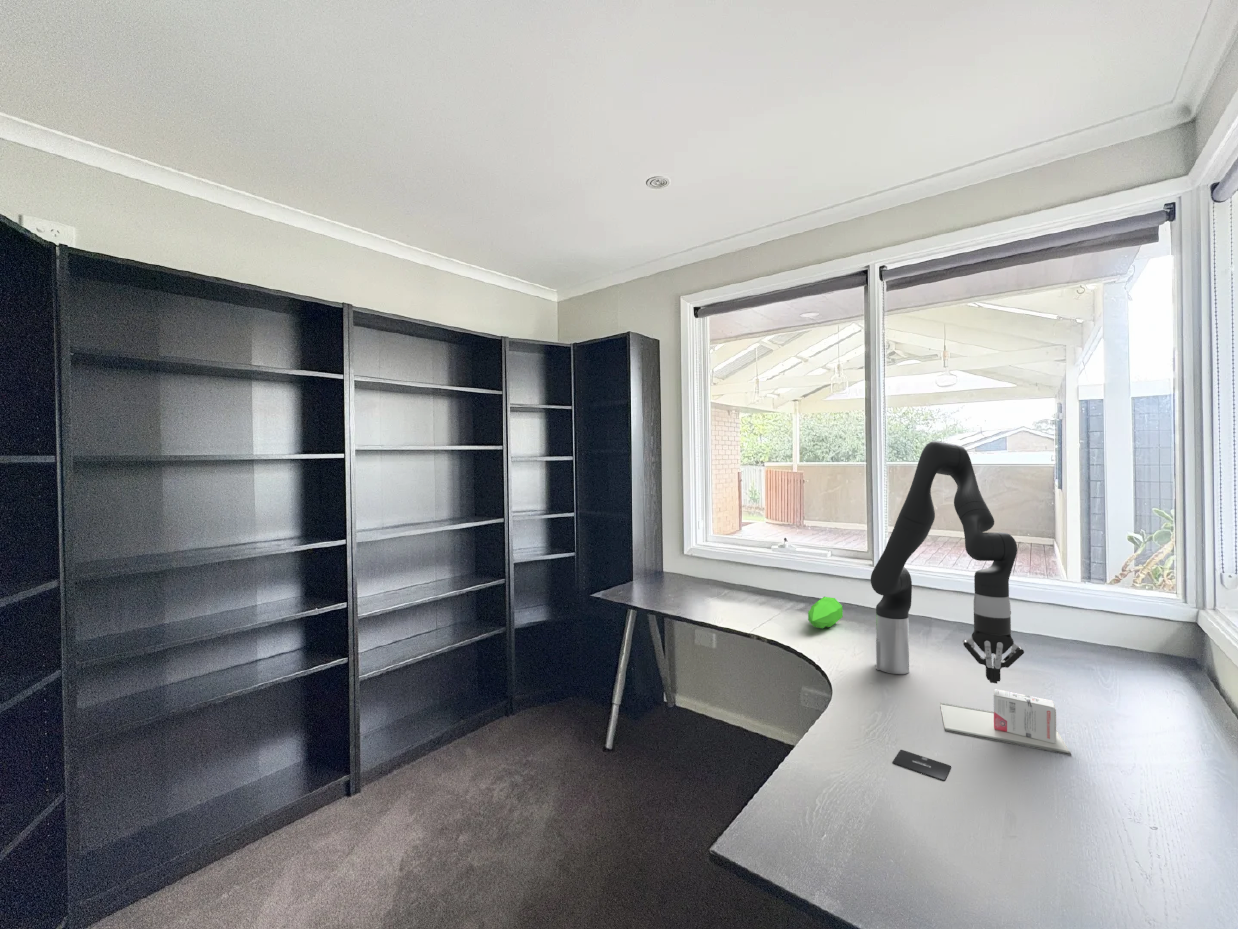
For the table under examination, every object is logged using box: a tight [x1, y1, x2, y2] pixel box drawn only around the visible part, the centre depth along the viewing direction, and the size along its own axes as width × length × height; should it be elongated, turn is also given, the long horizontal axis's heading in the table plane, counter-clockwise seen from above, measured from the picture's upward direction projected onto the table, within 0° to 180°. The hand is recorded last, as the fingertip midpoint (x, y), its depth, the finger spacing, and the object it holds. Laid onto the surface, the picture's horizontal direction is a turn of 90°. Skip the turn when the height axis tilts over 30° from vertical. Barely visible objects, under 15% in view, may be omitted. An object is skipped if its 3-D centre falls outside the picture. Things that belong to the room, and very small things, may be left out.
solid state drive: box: [891, 749, 952, 782], centre depth 114 cm, size 7×10×1 cm
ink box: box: [993, 688, 1057, 744], centre depth 126 cm, size 9×5×12 cm
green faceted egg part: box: [807, 596, 844, 629], centre depth 211 cm, size 11×12×30 cm
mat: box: [939, 702, 1072, 756], centre depth 130 cm, size 24×16×1 cm, turn 62°
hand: (993, 682), depth 130 cm, fingers closed
